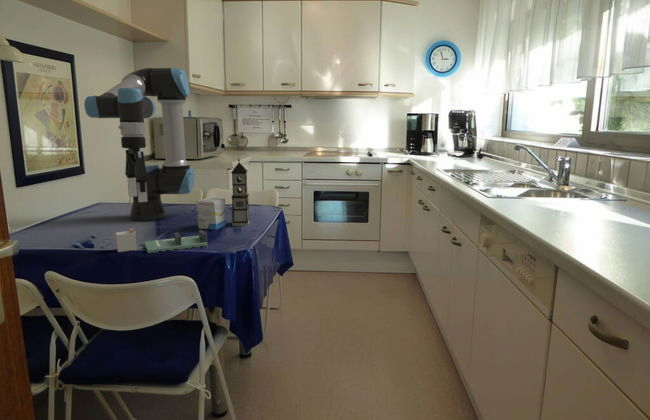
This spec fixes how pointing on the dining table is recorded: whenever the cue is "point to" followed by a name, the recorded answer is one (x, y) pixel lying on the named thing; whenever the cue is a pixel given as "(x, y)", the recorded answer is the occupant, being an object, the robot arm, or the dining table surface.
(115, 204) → the dining table surface
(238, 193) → the miniature building
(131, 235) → the plug
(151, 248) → the board
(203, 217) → the ink box
